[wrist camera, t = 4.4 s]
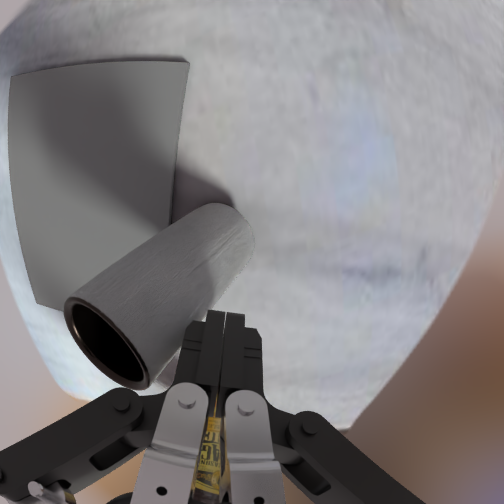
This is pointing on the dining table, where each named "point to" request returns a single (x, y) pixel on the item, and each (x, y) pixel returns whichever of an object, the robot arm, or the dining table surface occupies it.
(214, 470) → the sauce bottle
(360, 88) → the dining table surface
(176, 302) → the grey hollow cylinder
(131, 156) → the mat
